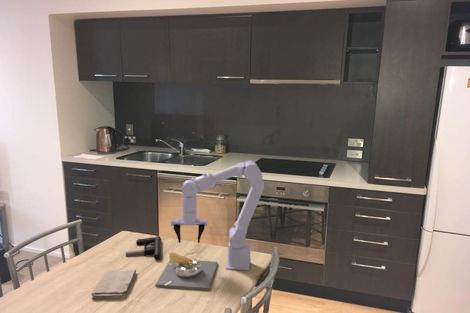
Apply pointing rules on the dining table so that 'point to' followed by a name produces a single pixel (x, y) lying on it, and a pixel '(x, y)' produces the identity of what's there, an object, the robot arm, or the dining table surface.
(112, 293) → the washcloth
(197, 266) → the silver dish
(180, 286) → the nut board
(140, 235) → the dining table surface
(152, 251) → the door handle
